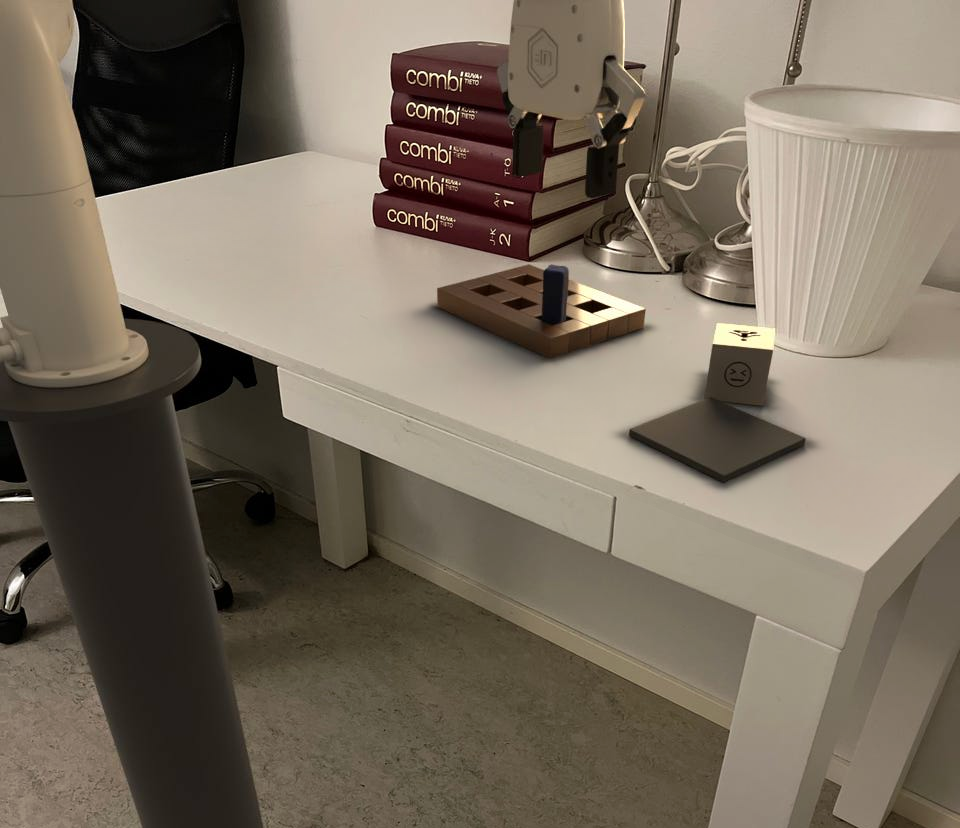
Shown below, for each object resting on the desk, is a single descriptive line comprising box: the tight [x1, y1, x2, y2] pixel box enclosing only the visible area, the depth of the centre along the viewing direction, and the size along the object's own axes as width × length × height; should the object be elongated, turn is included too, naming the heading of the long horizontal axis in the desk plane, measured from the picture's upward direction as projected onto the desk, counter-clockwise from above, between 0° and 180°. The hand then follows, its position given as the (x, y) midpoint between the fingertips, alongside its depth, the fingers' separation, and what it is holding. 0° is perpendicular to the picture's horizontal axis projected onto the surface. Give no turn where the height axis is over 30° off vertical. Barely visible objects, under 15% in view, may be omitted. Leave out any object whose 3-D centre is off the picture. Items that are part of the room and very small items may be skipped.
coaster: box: [628, 397, 807, 483], centre depth 78 cm, size 10×10×1 cm
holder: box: [436, 264, 646, 359], centre depth 100 cm, size 13×18×2 cm
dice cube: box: [703, 322, 776, 407], centre depth 84 cm, size 5×5×5 cm
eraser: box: [541, 264, 570, 325], centre depth 94 cm, size 2×2×7 cm
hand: (562, 184), depth 87 cm, fingers open, 9 cm apart
